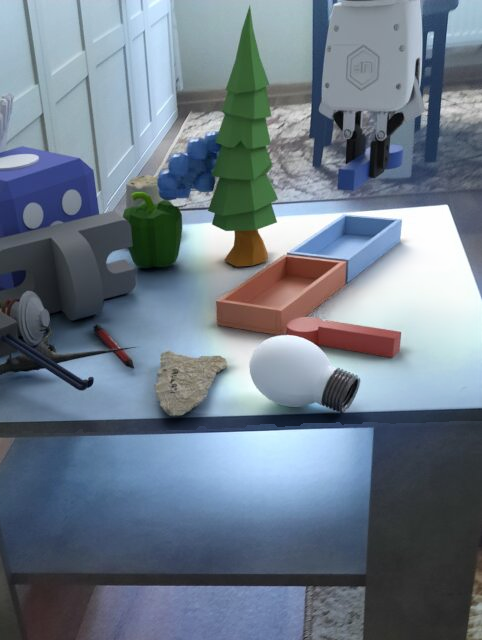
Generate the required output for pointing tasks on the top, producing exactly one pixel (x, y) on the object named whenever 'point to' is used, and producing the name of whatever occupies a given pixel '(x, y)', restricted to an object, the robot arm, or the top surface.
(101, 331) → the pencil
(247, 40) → the decorative tree
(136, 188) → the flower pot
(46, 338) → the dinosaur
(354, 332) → the red spoon
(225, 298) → the red bin
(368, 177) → the blue spoon
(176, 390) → the stone tool
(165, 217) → the bell pepper
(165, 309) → the top surface
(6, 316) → the dark blue hooked rod
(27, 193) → the toy
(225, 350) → the top surface
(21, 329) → the shock absorber
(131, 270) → the bracket
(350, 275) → the blue bin
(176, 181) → the grapes
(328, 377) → the light bulb
